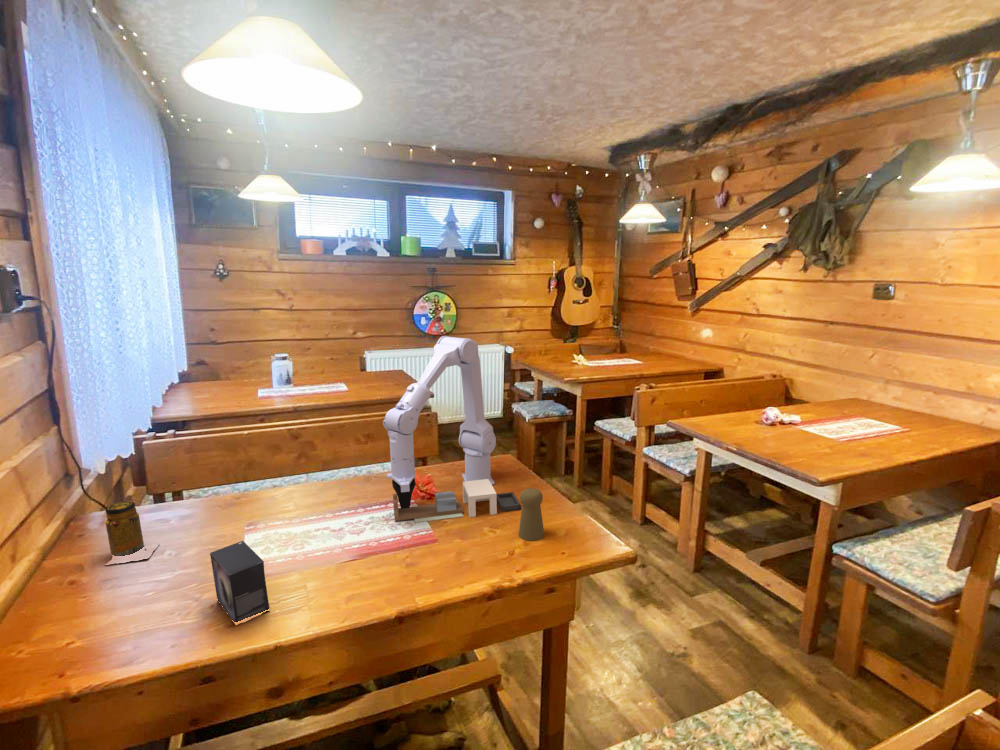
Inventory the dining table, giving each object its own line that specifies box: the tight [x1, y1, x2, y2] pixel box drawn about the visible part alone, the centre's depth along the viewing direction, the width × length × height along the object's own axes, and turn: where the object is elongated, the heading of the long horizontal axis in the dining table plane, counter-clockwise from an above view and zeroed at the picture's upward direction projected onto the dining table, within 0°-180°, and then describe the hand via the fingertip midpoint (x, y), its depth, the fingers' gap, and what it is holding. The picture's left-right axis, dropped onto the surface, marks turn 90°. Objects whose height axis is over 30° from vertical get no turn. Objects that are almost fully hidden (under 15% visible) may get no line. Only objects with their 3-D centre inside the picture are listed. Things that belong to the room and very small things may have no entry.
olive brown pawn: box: [518, 487, 545, 542], centre depth 124 cm, size 6×6×11 cm
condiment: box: [105, 500, 145, 556], centre depth 118 cm, size 7×8×12 cm
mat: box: [413, 513, 464, 523], centre depth 137 cm, size 8×12×1 cm, turn 103°
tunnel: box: [462, 479, 498, 518], centre depth 139 cm, size 10×7×6 cm
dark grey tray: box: [496, 491, 522, 513], centre depth 141 cm, size 8×5×1 cm, turn 13°
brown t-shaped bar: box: [392, 490, 464, 522], centre depth 136 cm, size 5×17×5 cm, turn 103°
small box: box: [209, 540, 271, 622], centre depth 100 cm, size 11×6×10 cm, turn 45°
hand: (405, 507), depth 135 cm, fingers closed, pressing on brown t-shaped bar
